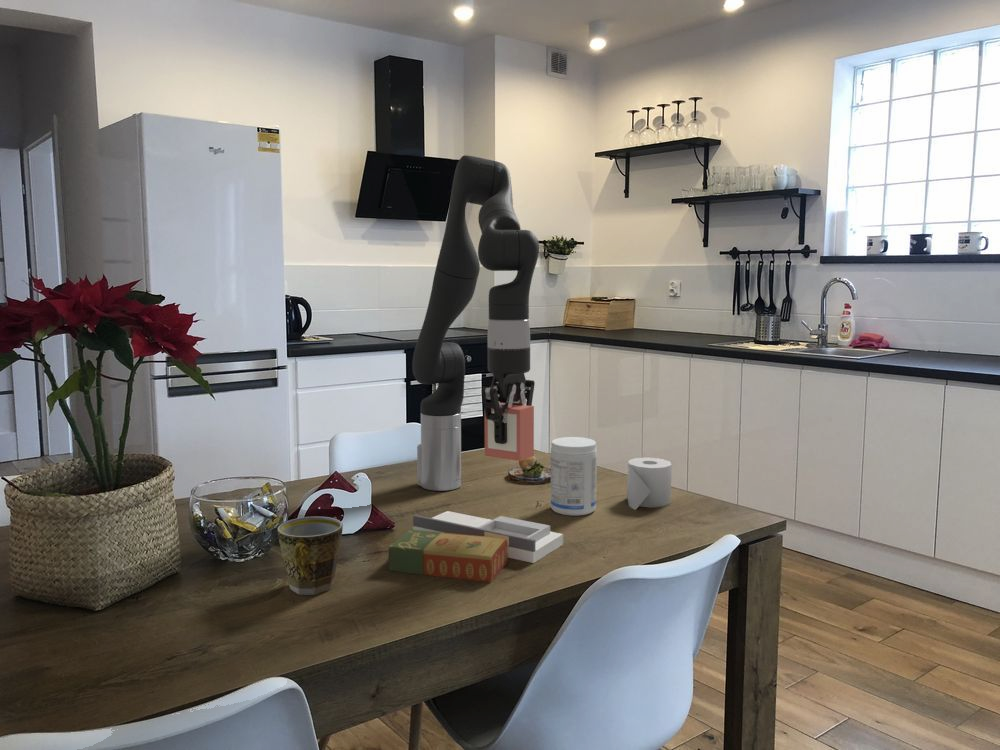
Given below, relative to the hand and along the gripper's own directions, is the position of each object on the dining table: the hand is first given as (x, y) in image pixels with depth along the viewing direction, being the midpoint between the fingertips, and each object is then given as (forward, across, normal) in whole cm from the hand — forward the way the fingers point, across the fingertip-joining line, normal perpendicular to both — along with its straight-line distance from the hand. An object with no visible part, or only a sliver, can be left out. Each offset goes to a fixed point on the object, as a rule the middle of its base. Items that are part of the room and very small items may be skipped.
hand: (509, 440), depth 143 cm
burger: (+20, +44, +22) cm, 53 cm away
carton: (+20, -13, +4) cm, 25 cm away
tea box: (+3, 0, 0) cm, 3 cm away
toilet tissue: (+20, +40, -9) cm, 46 cm away
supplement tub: (+20, +27, +2) cm, 33 cm away
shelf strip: (+20, +1, +6) cm, 21 cm away
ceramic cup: (+20, -34, +15) cm, 42 cm away
